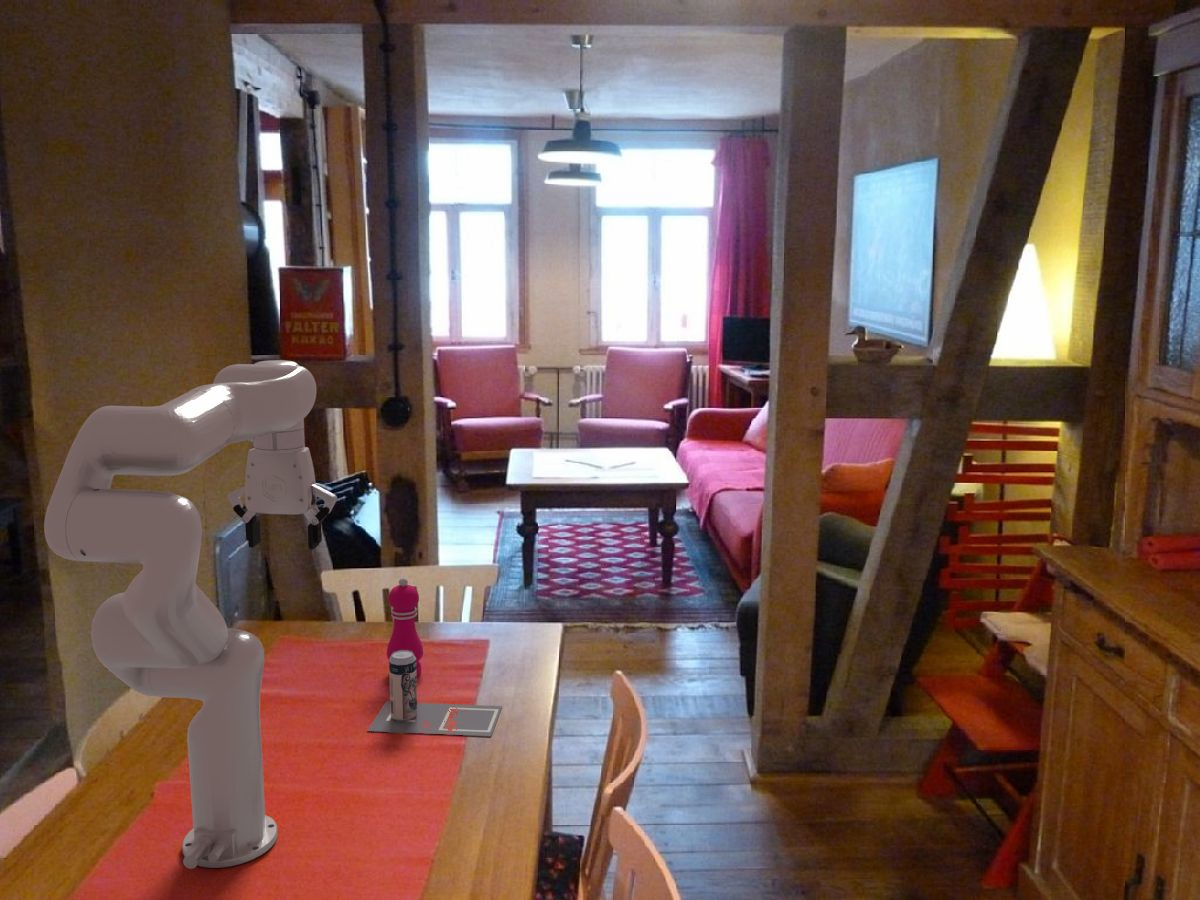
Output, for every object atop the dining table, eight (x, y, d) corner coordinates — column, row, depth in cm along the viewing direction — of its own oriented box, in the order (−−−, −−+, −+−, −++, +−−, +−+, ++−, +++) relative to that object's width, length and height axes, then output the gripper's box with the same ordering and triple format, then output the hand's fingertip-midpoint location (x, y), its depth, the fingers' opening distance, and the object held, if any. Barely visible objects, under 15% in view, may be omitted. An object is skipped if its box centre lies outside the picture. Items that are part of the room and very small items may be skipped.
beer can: (411, 723, 175) (409, 660, 173) (386, 721, 176) (384, 658, 174) (421, 712, 180) (420, 650, 178) (396, 709, 181) (395, 648, 179)
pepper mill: (431, 670, 199) (429, 576, 196) (406, 683, 193) (403, 585, 190) (404, 663, 203) (402, 570, 199) (379, 674, 197) (376, 579, 193)
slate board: (490, 737, 171) (490, 735, 171) (367, 731, 173) (367, 730, 172) (502, 707, 183) (502, 706, 183) (386, 702, 184) (386, 701, 184)
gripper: (214, 443, 149) (221, 551, 153) (325, 445, 148) (329, 554, 152) (235, 435, 157) (241, 538, 160) (341, 437, 156) (345, 541, 159)
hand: (284, 546), depth 156 cm, fingers open, 9 cm apart
